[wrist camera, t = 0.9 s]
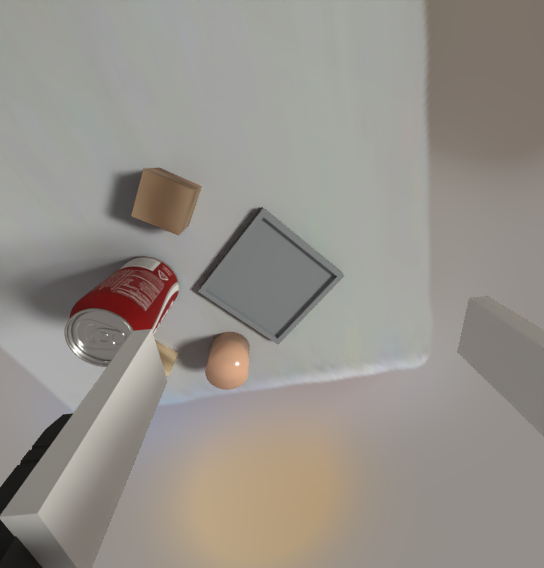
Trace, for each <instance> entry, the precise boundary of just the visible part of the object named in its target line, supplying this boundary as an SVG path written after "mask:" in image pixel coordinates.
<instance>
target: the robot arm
mask: <svg viewBox="0 0 544 568" xmlns="http://www.w3.org/2000/svg"><path fill="white" fill-rule="evenodd" d="M458 353H459V354H460V355H461V356H462V357H463V358H464V359H465V360H466V361H467V362H468V363H469V364H470V365H471V366H472V367H473V368H474V369H475V370H476V371H477V372H478V373H479V374H480V375H481V376H483V377H484V379H485V380H487V381H488V382H489V383H490V384H491V385H492V386H493V387H494V388H495V389H496V390H497V391H498V392H499V393H500V394H501V395H502V396H503V397H504V398H505V399H506V400H507V401H508V402H509V403H510V404H511V405H512V406H513V407H514V408H515V409H516V410H517V411H518V412H519V413H520V414H521V415H522V416H523V417H524V418H525V419H526V420H527V421H528V422H530V424H532V426H534V427H535V428H536V429H537V430H538V431H539V432H540V433H541V434H542V435H543V436H544V330H543V329H541V328H540V327H538V326H537V325H535V324H533V323H532V322H530V321H528V320H527V319H525V318H523V317H521V316H520V315H518V314H517V313H515V312H513V311H512V310H510V309H508V308H507V307H505V306H504V305H502V304H500V303H498V302H497V301H495V300H493V299H492V298H490V297H488V296H482V297H472V298H469V301H468V306H467V310H466V315H465V320H464V324H463V329H462V333H461V338H460V342H459V347H458ZM166 383H167V378H166V374H165V371H164V368H163V365H162V361H161V358H160V355H159V352H158V348H157V345H156V342H155V339H154V335H153V332H152V329H147V330H137V331H133V332H132V333H131V334H130V336H129V337H128V338H127V340H126V341H125V343H124V344H123V345H122V347H121V348H120V350H119V351H118V352H117V354H116V355H115V357H114V358H113V359H112V361H111V362H110V363H109V365H108V366H107V368H106V369H105V370H104V372H103V373H102V375H101V376H100V377H99V379H98V380H97V382H96V383H95V384H94V386H93V387H92V388H91V390H90V391H89V393H88V394H87V395H86V397H85V398H84V400H83V401H82V402H81V404H80V405H79V407H78V408H77V409H76V411H75V412H74V413H73V414H63V415H62V416H61V417H60V418H59V419H57V420H56V421H55V422H54V423H53V424H51V425H50V426H49V427H48V428H47V429H46V430H45V431H44V432H43V433H42V434H41V436H40V437H39V438H38V440H37V441H36V442H35V444H34V445H33V446H32V450H29V451H28V452H27V454H26V455H25V456H24V458H23V459H22V460H21V463H20V465H17V467H16V468H15V469H14V471H13V472H12V473H11V474H10V475H9V477H8V478H7V479H6V481H5V482H4V483H3V485H2V486H1V487H0V568H92V566H93V563H94V561H95V559H96V556H97V554H98V551H99V549H100V546H101V544H102V541H103V539H104V536H105V534H106V532H107V529H108V526H109V524H110V522H111V519H112V517H113V514H114V512H115V509H116V507H117V504H118V502H119V499H120V497H121V495H122V492H123V490H124V487H125V485H126V482H127V480H128V477H129V475H130V472H131V470H132V467H133V465H134V462H135V460H136V457H137V455H138V453H139V450H140V448H141V445H142V442H143V440H144V438H145V435H146V432H147V430H148V428H149V425H150V423H151V420H152V418H153V415H154V413H155V410H156V408H157V406H158V403H159V401H160V398H161V396H162V393H163V391H164V388H165V386H166Z"/></svg>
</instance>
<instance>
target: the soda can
mask: <svg viewBox="0 0 544 568" xmlns="http://www.w3.org/2000/svg"><path fill="white" fill-rule="evenodd" d="M178 292H179V283H178V279H177V276H176V274H175V273H174V271H173V270H172V269H171V268H170V267H169V266H168V265H167V264H165V263H164V262H162V261H160V260H158V259H156V258H152V257H139V258H135V259H132V260H131V261H129V262H128V263H126V264H125V265H124V266H122V267H121V268H120V269H119V270H117V271H116V272H115V273H113V274H112V275H111V276H110V277H108V278H107V279H106V280H104V281H103V282H102V283H101V284H99V285H98V286H97V287H95V288H94V289H93V290H92V291H90V292H89V293H88V294H86V295H85V296H84V297H83V298H81V299H80V300H79V301H78V302H77V303H76V304H75V305H74V307H73V309H72V311H71V314H70V319H69V321H68V322H67V324H66V327H65V339H66V342H67V344H68V346H69V348H70V349H71V350H72V352H73V353H74V354H75V355H77V356H78V357H79V358H80V359H82V360H84V361H85V362H88V363H90V364H93V365H96V366H101V367H107V366H108V365H109V363H110V362H111V361H112V359H113V358H114V357H115V355H116V354H117V352H118V351H119V350H120V348H121V347H122V345H123V344H124V343H125V341H126V340H127V338H128V337H129V336H130V334H131V333H132V332H133V331H137V330H147V329H152V332H153V335H154V334H155V332H156V331H157V329H158V327H159V326H160V324H161V322H162V321H163V319H164V317H165V316H166V314H167V312H168V311H169V309H170V307H171V306H172V304H173V302H174V301H175V299H176V297H177V295H178Z"/></svg>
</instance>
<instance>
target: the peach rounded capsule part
mask: <svg viewBox="0 0 544 568" xmlns="http://www.w3.org/2000/svg"><path fill="white" fill-rule="evenodd" d="M248 365H249V343H248V341H247V339H246V338H245V337H244V336H242V335H241V334H239V333H235V332H225V333H222V334H220V335H218V336H217V337H216V338H215V339H214V341H213V343H212V347H211V351H210V355H209V359H208V362H207V366H206V371H205V373H206V377H207V379H208V381H209V382H210V383H211V384H212V385H214V386H215V387H218V388H221V389H234V388H237V387H239V386H241V385H242V384H243V383H244V382H245V381H246V379H247V377H248Z"/></svg>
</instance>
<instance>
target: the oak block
mask: <svg viewBox="0 0 544 568" xmlns="http://www.w3.org/2000/svg"><path fill="white" fill-rule="evenodd" d="M155 342H156V345H157V348H158V352H159V355H160V358H161V361H162V365H163V368H164V371H165V374H166V377H167V376H168V375H169V374H170V372H171V370H172V367H173V365H174V363H175V360H176V358H177V355H178V353H177V352H175V351H174V350H172V349H170V348H168V347H167V346H165V345H163V344H161V343H159V342H158V341H156V340H155Z"/></svg>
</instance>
